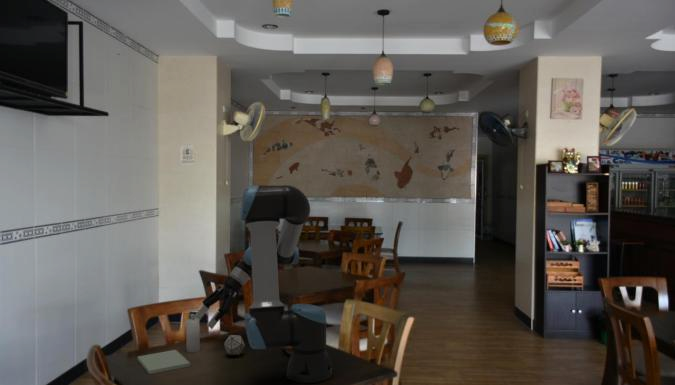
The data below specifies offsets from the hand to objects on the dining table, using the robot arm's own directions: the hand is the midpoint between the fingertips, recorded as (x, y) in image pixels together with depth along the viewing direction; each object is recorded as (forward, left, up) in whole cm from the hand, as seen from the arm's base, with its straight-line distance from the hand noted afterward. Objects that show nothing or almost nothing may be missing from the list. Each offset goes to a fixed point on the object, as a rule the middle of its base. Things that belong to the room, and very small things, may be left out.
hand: (202, 323), depth 206 cm
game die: (-17, -7, -10) cm, 20 cm away
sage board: (-10, +18, -10) cm, 22 cm away
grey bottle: (-2, +4, -10) cm, 11 cm away
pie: (-27, -30, -10) cm, 41 cm away
